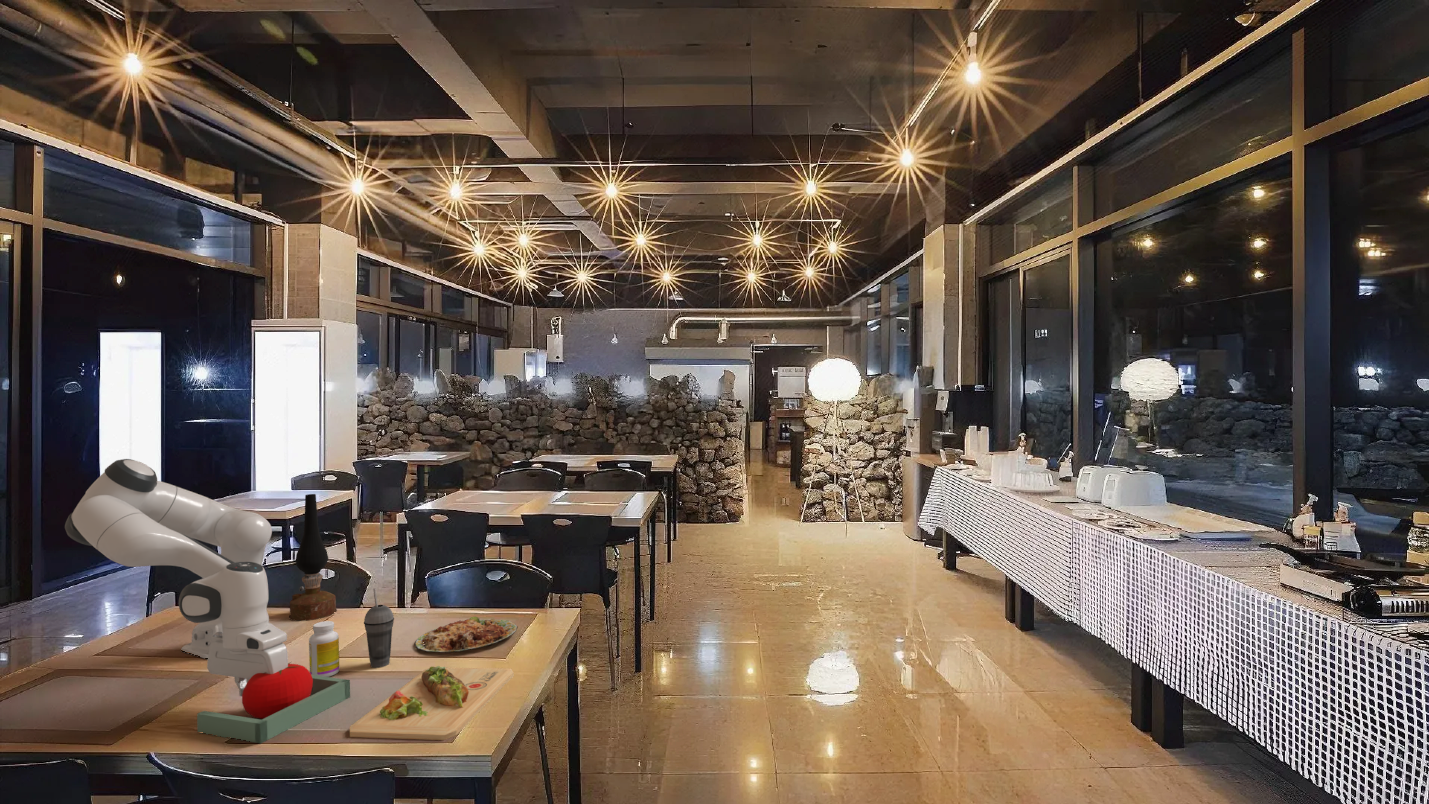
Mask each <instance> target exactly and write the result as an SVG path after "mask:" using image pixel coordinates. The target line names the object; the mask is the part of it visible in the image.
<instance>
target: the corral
mask: <svg viewBox="0 0 1429 804" xmlns="http://www.w3.org/2000/svg"><path fill="white" fill-rule="evenodd" d="M312 679H313V686H312V691H311V694H310V696H309V697H307V698H305V699H303V700H301V701H299V702H297V703H295V704H293V705H291V706H289V707H287V708H285V709H283V710H281V711H278V712H276V713H274V714H272V715H270V716H268V717H266V718H264V719H261V718H252V717H248V716H247V717H246V716H239V715H234V714H228V713H222V712H221V713H220V712H215V711H207V710H202V711H200V712H198V713H197V714H196V716H197V717H196V718H197V719H196V721H197V722H196V723H197V725H196V726H197V730H196V731H197V733H198V732H203V733H206V734H205V735H208V734H213V735H212V736H214V735H217V736H216V737H220V736H221V737H220V738H226V737H231V738H236V739H235V740H237V739H241V740H240V741H243V740H246V741H245V742H249V741H250V742H249V743H257V744H263V743H265V742H266V740H267V741H269V740H271V739H272V738H274V737H276V736H278V735H280V734H282V733H284V732H285V731H288V730H290V729H292V728H293V727H296V726H297V725H299V724H301V723H302V722H305V721H306V720H307V721H308V719H310V718H313V717H315V716H317V715H318V714H321V713H323V712H324V711H326V710H328V709H330V708H332V707H333V706H336V705H337V704H340V703H341V702H343V701H345V700H347V699H349V698H351V679H345V678H338V677H331V676H329V677H323V676H315V675H312ZM231 738H230V739H231Z"/></svg>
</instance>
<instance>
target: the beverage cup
mask: <svg viewBox="0 0 1429 804" xmlns="http://www.w3.org/2000/svg"><path fill="white" fill-rule="evenodd" d="M372 590H373V597H374V604H375V605H374V606H372V607H371V608H370V609H368V611H367V612H366V613H365V616H364V621H363V625H364V628H365V629H364V630H365V632H366V640H367V651H368V656H369V658H368V660H369V662H370V668H372V669H373V668H375V669H377V668H383V667H386V666H388V665H390V661H391V659H390V658H391V651H392V635H393V634H392V633H393V626H394V620H395V617H394V612H393V611H392V609H391V608H390V607H389V606H388V605H384V604H378V599H377V589H376V588H373V589H372Z"/></svg>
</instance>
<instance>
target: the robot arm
mask: <svg viewBox="0 0 1429 804" xmlns="http://www.w3.org/2000/svg"><path fill="white" fill-rule="evenodd" d="M64 529H65V532H66V534H67V536H68V537H69V538H70V539H72V540H73V541H75V542H77V543H79V544H82V545H85V546H88V547H89V546H90V547H93V548H95V550H97V551H98V552H100V553H101V554H102V555H104V557H106V558H107V559H109V560H110V561H112V562H114V563H116V564H119V565H122V566H125V567H130V568H133V567H134V568H135V567H137V568H139V567H140V568H141V567H151V566H170V567H171V566H173V567H181V568H184V569H186V570H188V571H190V572H191V573H193V574H195V575H197V576H199V577H201V579H197V580H195V581H193V582H191V583H189V584H187V585H185V586H184V587H183V588H182V590H181V592H180V594H179V597H178V608H179V612H180V613H181V616H183V617H184V619H186V621H189V622H191V623H194V624H197V625H196V626H194V627H193V628H192V632H191V642H189V643H187V644H185V645H183V646H182V647H181V650H183V651H185V652H190V653H192V654H194V655H193V656H195V655H198V656H200V658H202V659H205V658H208V659H207V660H206V661H207V666H206V668H207V671H208V673H209V674H212V675H217V676H218V675H220V676H224V677H225V676H226V677H233V678H234V683H235V684H236V685H235V686H237V688H238V695H239V697H242V694H243V690H244V688H245V686H246V684H247V682H248V681H249V680H250V678H251V677H252V676H253V675H255V674H257V673H265V672H266V673H268V674H274V673H276V672H278V671H280V670H283V669H285V668H287V667H288V663H289V659H288V657H289V656H288V648H287V646H286V644H285V643H286V642H287V640H288V634H287V633H286V631H284V630H282V629H280V628H279V627H277V626H275V625H274V624H273V623H271V622H270V616H269V613H268V611H267V609H268V608H267V607H268V602H269V584H268V577H267V572H266V570H265V568H264V566H263V560H264V555H265V550H266V546H267V544H268V543H269V541H270V539H271V538H272V533H273V528H272V525H271V523H270V522H269V521H268V520H267V519H266V518H265V517H264V516H262V515H261V514H260V513H257V512H252V511H248V510H244V509H238V508H234V507H232V506H229V505H226V504H223V503H222V502H218V501H216V500H215V499H211V498H209V497H207V496H204V495H202V494H198V493H197V492H193V491H190V490H188V489H185V488H182V487H180V486H177V485H173V484H171V483H167V482H164V481H160V480H158V477H157V474H156V472H155V470H154V469H152V467H150V466H148V465H147V464H145V463H144V462H141V461H138V460H135V459H130V458H122V459H117V460H115V461H113V462H112V463H111V464H109V465H107V467H106V468H105V469H104V472H103V473H101V475H99V477H97V479H96V480H94V482H93V483H92V484H91V485H90V486H89V487H88V489H87V490H86V491H85V494H84V495H83V496H82V498H81V499H80V500H79V502H78V503H77V505H76V507H75V508H74V509H73V512H71V513H70V514H69V515H68V517H67V519H66V521H65V524H64ZM202 542H203V543H202ZM204 543H206V544H210V545H213V546H215V547H220V549H221V550H220V553H219V552H217V551H215V550H214V549H212V548H211V547H209V546H207V545H206V544H204ZM284 642H285V643H284ZM181 650H180V651H181ZM185 652H184V653H185ZM192 654H191V655H192ZM198 656H197V657H198Z"/></svg>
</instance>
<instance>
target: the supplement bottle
mask: <svg viewBox="0 0 1429 804" xmlns="http://www.w3.org/2000/svg"><path fill="white" fill-rule="evenodd" d="M334 627H335V622H334V621H332V620H331V621H330V620H325V621H319V622H317V623H315V624H313V625H312V631H313V634H312V635H310V637H309V639H308V648H309V649H308V650H309V651H308V653H309V672H310V674H311V675H315V676H323V677H331V676H334V675H337V674H338V672H340V643H339V641H340V640H339V638H340V637H339V633H338V632H337V631H334Z"/></svg>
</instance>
